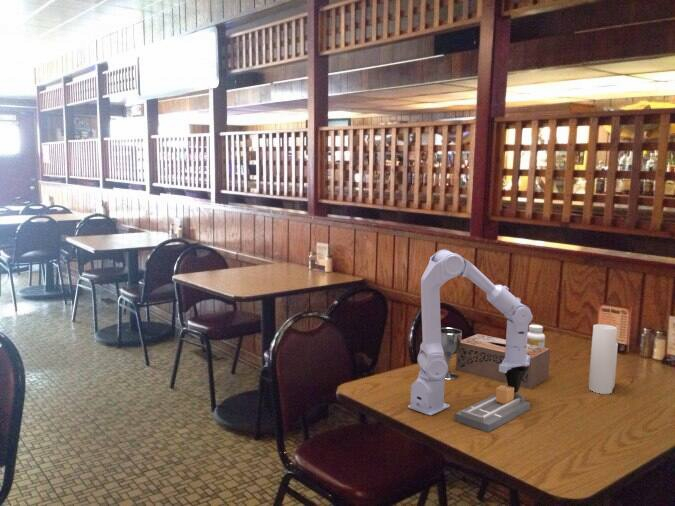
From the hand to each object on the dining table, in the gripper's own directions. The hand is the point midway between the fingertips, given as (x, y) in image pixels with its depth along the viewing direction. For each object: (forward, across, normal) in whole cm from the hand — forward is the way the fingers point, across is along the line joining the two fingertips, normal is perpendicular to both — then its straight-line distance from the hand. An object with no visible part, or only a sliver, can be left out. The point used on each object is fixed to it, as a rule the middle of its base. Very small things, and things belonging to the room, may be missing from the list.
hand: (513, 391), depth 166 cm
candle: (+4, +33, -12) cm, 35 cm away
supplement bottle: (+4, +43, +15) cm, 46 cm away
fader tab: (+2, -5, 0) cm, 5 cm away
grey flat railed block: (+4, -11, 0) cm, 11 cm away
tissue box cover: (+4, +22, +16) cm, 28 cm away
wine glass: (+4, +7, +27) cm, 28 cm away
